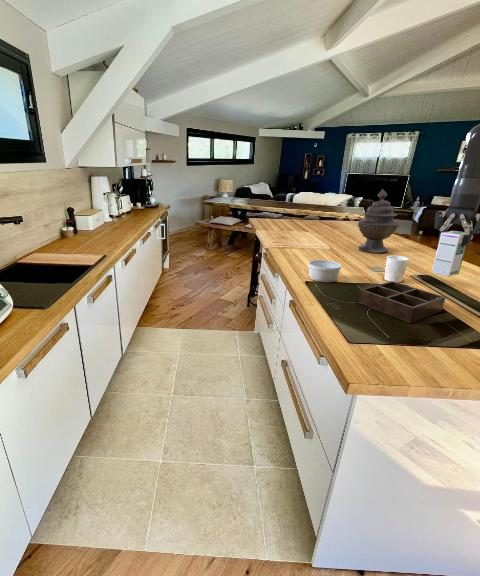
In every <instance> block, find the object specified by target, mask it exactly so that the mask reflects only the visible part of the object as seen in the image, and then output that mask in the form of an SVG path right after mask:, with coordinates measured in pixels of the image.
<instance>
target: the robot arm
mask: <svg viewBox="0 0 480 576" xmlns="http://www.w3.org/2000/svg"><path fill="white" fill-rule="evenodd" d="M465 137H466V138H465V142H466V145H467V146H466V149H465V153H464V157H463V159H462V160H461V162H460V165H459V169H458V171H457V172H458V173H457V176H456V179H455V181H454V183H453V186H452V189H451V194H450V198H449V201H448V207H447V209H446V210H438V211H435V216H434V230H435V229H436V230H438V231H439V234H438V237H437V241H439V240H440V236H441V233H443V232H448V230H449V228H450V227H451V226H453V225H460V226H462V229H463V232H465V234H466V235H464V237H463V241H462V244H461V246H466V245H469V244H470V243H471V240H472V237H473V235H476V234H480V213H478V209H479V206H480V123H479V124H477V125H475V126H474V127H472V128H471V129H470V130H469V132H468V133H467V134H466V136H465ZM445 216H446V218H447V219H446V220H445V221H444V217H445ZM474 219H476V223H475V226H474V228H473V220H474ZM443 221H444V223H443ZM466 247H467V246H466Z"/></svg>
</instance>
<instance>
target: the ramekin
mask: <svg viewBox="0 0 480 576" xmlns="http://www.w3.org/2000/svg"><path fill="white" fill-rule="evenodd" d="M307 265H308V277H309V278H310V280H313V281H315V282H318V283H334V282H335V281H337V279H338V278H339V275H340V271H341V269H342V264H340V263H339V262H336V261H333V260H328V259H327V260H326V259H314V260H310V261H309V262H308V264H307Z"/></svg>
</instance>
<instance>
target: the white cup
mask: <svg viewBox="0 0 480 576" xmlns="http://www.w3.org/2000/svg"><path fill="white" fill-rule="evenodd" d="M409 261H410V258H409V257H406V256H403V255H395V254H394V255H387V256H386V262H385V268H384V276H383V279H384V281H387V282H390V281H393V282H397V283H401V282H403V279H404V277H405V274H406V271H407V267H408V264H409Z"/></svg>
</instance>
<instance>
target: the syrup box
mask: <svg viewBox="0 0 480 576" xmlns="http://www.w3.org/2000/svg"><path fill="white" fill-rule="evenodd" d="M464 235H466V234H465V231H457V230H450V231H447V232H443V233H441V236H440V240H438V245H437V249H436V252H435V256H434V261H433V265H432V268H431V273H433V274H435V275H440V276H444V277H447V278H450V277H452V276H457V275H459V274H460V271H461V267H462V264H463V259H464V257H465V253H466V249H467V247H468V246H467V245H468V244H467V245H466V246H461V244H462V241H463V237H464Z"/></svg>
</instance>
